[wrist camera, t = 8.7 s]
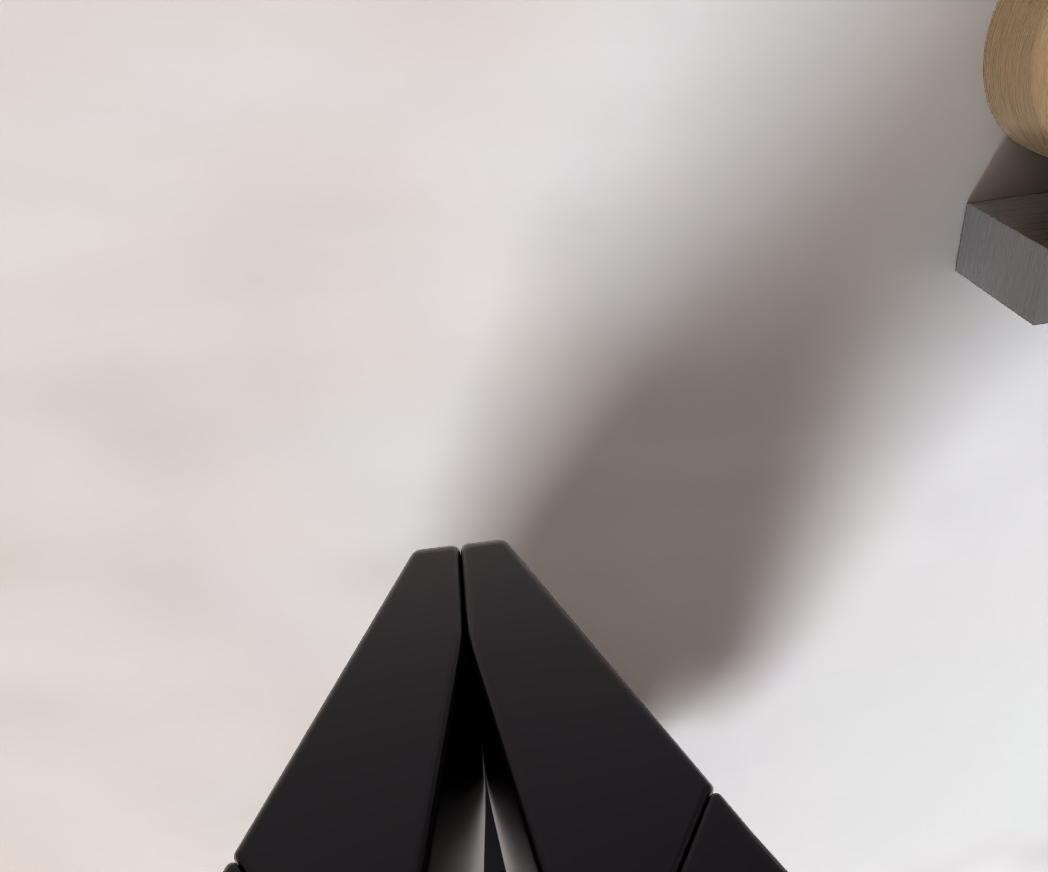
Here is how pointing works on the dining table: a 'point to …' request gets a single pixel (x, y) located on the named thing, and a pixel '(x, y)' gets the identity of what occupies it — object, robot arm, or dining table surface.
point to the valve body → (1009, 252)
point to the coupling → (1019, 71)
